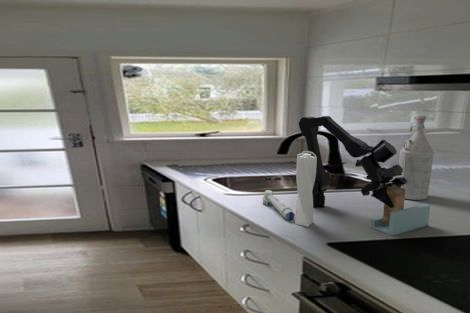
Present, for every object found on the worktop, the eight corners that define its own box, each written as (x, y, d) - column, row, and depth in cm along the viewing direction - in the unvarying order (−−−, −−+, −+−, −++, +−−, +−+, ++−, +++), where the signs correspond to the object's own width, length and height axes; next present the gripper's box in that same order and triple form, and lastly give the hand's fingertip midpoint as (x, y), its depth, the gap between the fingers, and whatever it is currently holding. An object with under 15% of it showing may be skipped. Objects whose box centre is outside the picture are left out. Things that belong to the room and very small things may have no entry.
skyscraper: (309, 228, 118) (313, 152, 114) (290, 224, 122) (293, 150, 118) (316, 221, 125) (320, 149, 120) (298, 218, 129) (301, 147, 124)
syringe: (284, 212, 125) (261, 187, 148) (283, 227, 127) (260, 200, 150) (297, 210, 126) (271, 186, 149) (295, 226, 128) (270, 199, 151)
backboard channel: (370, 226, 120) (372, 206, 119) (405, 218, 129) (407, 198, 128) (392, 235, 112) (394, 213, 111) (428, 225, 121) (430, 205, 120)
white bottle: (388, 195, 160) (395, 114, 154) (410, 191, 168) (417, 113, 162) (412, 202, 149) (421, 115, 143) (435, 197, 158) (444, 114, 151)
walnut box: (382, 222, 118) (385, 187, 116) (390, 220, 121) (394, 185, 118) (393, 226, 115) (397, 190, 112) (402, 224, 117) (405, 188, 114)
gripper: (370, 159, 113) (395, 198, 105) (405, 155, 121) (431, 191, 114) (350, 176, 121) (373, 214, 113) (384, 172, 130) (407, 206, 122)
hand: (397, 206), depth 115 cm, fingers closed on walnut box, 4 cm apart
